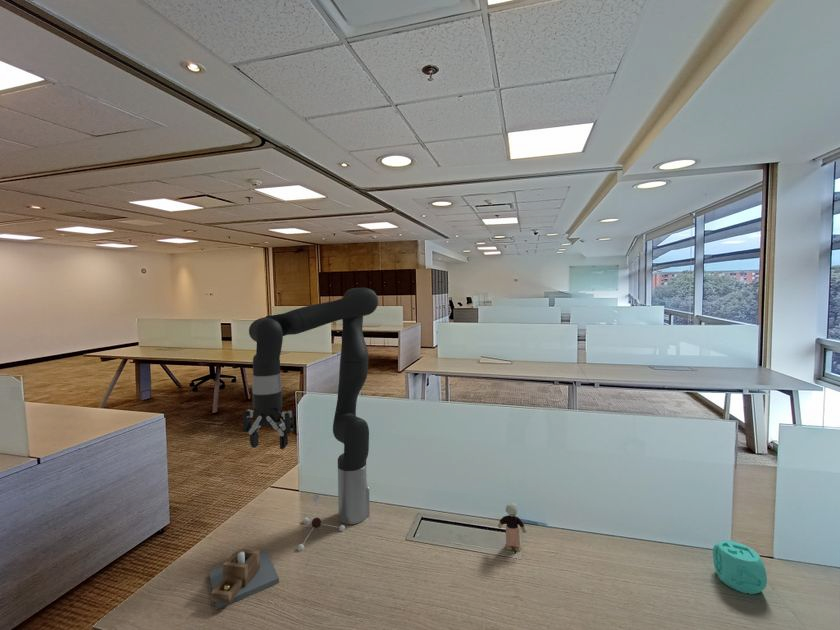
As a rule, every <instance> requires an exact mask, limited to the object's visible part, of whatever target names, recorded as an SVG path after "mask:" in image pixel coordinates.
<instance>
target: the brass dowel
mask: <svg viewBox="0 0 840 630" xmlns="http://www.w3.org/2000/svg"><path fill="white" fill-rule="evenodd" d="M229 590H230V584H226V585H225V586H224V591H229Z"/></svg>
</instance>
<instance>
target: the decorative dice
mask: <svg viewBox="0 0 840 630" xmlns="http://www.w3.org/2000/svg"><path fill="white" fill-rule="evenodd" d="M712 560H713V565H714V569H715V573H716V575H717V577H718V579H720V581H721V582H722V583H723V584H725V585H726V586H727V587H729V588H730V589H732V590H735V591H737V592H739V591H740V593H743V594H747V593H749V595H755V594H758V593H761V592H762V591H764V590H765V589H766V588H767V583H768V578H767V577H768V576H767V571H766V567H765V564H764V561H763V559H762V558H761V556H760V554H759V553H758V552H756V550H754V549H753V548H751V547H749V546H747V545H745V544H743V543H740V542H737V541H733V540H722V541H719V542H717V543H716V544H715V545H714V546H713V547H712Z"/></svg>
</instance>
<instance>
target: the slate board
mask: <svg viewBox="0 0 840 630" xmlns="http://www.w3.org/2000/svg"><path fill="white" fill-rule="evenodd" d="M259 556H260V570H259V571H258V573H257V574H256V575H255V576H254V577H253V579H252V580H251V581H250V582H249V584H248V585H247V586H246V587H242V589H241V590H240V591H239V592H238V593H237V595H236V596H235V597H234V598H233V599H232V601H231V602H230V603H221V602H214V605H215V606H214V607H215V610H216V611H218V610H219V609H223V608H225V607H226V606H228V605H229V606H230V605H231V604H234V603H235V602H238V601H241V600H242V599H246V598H247V597H250V596H252V595H254V594H256V593H258V592H261V591H263V590H265V589H267V588H270V587H272V586H274V585H277V584H279V583H280V578H279V575H278V572H277V571H276V568H275V566H274V563H273V562H272V559H271V557H270V555H269V553H268V551H267V549H266V550H262V551H259ZM238 563H241V564H244V563H245V553H244V552H240V553H238ZM208 573H209V574H208V575H209V577H208V578H209V581H210V586H211V592H212V591H213V590H214V589H215V588H216V587H217V586H218V585H219V584H220V583H221V581H222V580H223V566H221V567H218V568H216V569H213V570H211V571H209V572H208Z"/></svg>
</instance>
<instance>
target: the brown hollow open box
mask: <svg viewBox="0 0 840 630" xmlns="http://www.w3.org/2000/svg"><path fill="white" fill-rule="evenodd" d="M240 552H244V553H245V563H244V564H241V563H238V553H240ZM259 553H260V550H255V549H246V548H237V550H236V551H234V552H233V553H232V555H231V556H229V558H227V560H226V561H225V562H224V563H223V564H222V567H223V580H222V581H221V583H220V584H219V585H218V586H217V587H216V588H215V589H214V590H213V591H212V590H211V592H210V601H211V602H214V603H215V602H221V603H230V602H231V601H232V599H233V598H234V597H235V596H236V595H237V593H238V592H239V591H240V590H241V589H242V587H246V586H247V585H248V584H249V582H250V581H251V580H252V579H253V577H254V576H255V575H256V574H257V573H258V571H259V570H260V556H259ZM226 584H230V590H229V591H224V586H225V585H226Z"/></svg>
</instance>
